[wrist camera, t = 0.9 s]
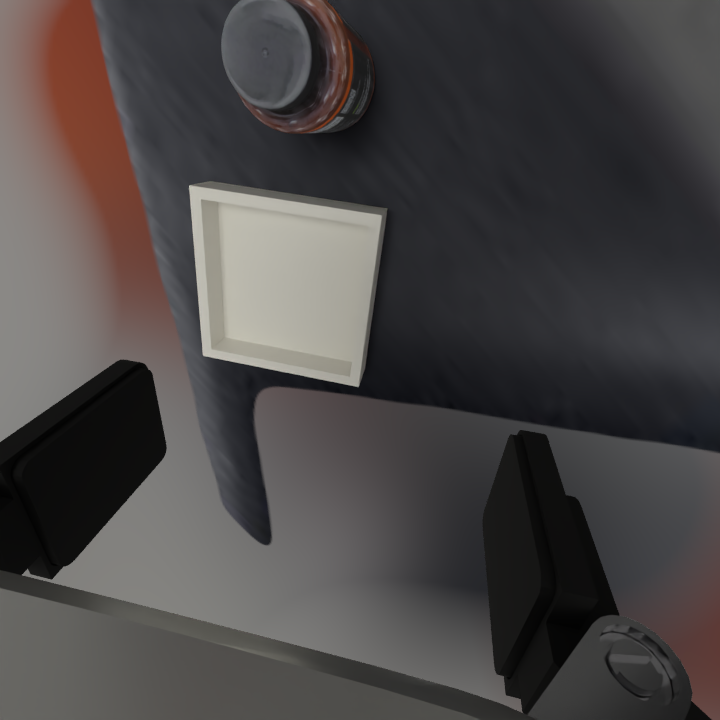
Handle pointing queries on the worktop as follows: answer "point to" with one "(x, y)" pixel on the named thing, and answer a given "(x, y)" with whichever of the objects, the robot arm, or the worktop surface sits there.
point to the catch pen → (286, 279)
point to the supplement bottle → (297, 65)
